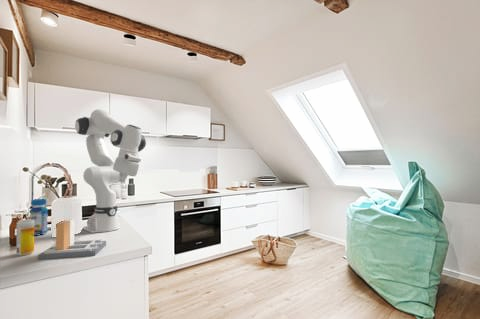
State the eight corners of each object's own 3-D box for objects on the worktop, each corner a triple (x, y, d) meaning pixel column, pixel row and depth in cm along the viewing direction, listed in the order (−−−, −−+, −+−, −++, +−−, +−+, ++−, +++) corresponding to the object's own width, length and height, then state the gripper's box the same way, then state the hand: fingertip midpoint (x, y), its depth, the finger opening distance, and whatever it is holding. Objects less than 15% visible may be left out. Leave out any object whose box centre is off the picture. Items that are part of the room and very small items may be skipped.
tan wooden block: (68, 247, 115) (68, 221, 115) (63, 250, 110) (63, 223, 111) (61, 248, 114) (61, 221, 115) (56, 251, 110) (56, 223, 110)
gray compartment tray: (106, 244, 126) (106, 216, 126) (95, 255, 111) (95, 223, 111) (56, 248, 121) (56, 218, 122) (38, 259, 107) (38, 226, 107)
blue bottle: (50, 233, 147) (50, 199, 148) (32, 237, 140) (32, 201, 141) (44, 231, 152) (44, 198, 153) (26, 234, 145) (27, 199, 146)
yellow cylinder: (37, 252, 116) (37, 219, 116) (23, 256, 110) (23, 222, 110) (27, 251, 117) (27, 218, 118) (12, 255, 112) (13, 221, 112)
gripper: (113, 152, 136) (107, 177, 135) (130, 156, 123) (124, 185, 122) (124, 154, 141) (119, 179, 140) (142, 159, 127) (136, 186, 126)
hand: (121, 182), depth 131 cm, fingers closed
